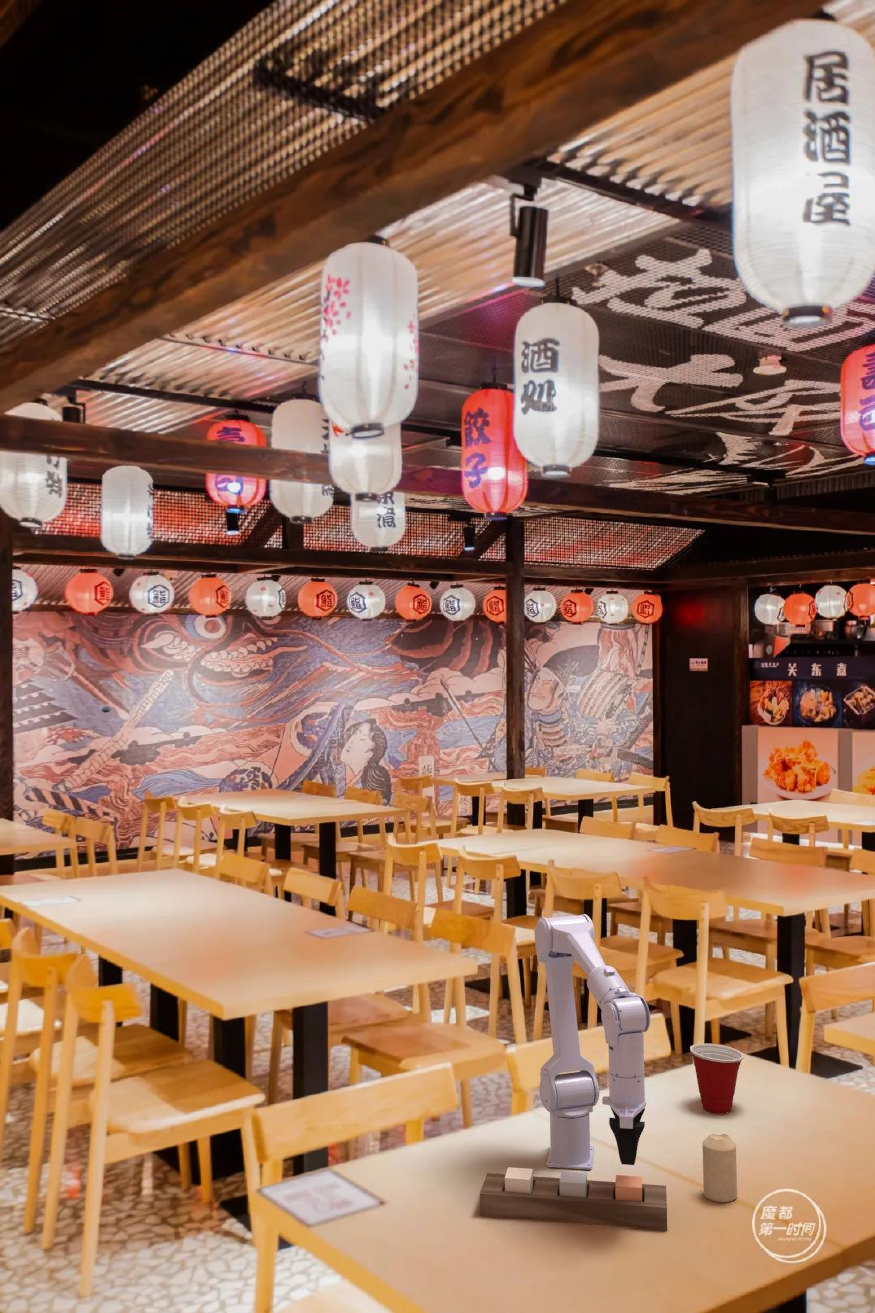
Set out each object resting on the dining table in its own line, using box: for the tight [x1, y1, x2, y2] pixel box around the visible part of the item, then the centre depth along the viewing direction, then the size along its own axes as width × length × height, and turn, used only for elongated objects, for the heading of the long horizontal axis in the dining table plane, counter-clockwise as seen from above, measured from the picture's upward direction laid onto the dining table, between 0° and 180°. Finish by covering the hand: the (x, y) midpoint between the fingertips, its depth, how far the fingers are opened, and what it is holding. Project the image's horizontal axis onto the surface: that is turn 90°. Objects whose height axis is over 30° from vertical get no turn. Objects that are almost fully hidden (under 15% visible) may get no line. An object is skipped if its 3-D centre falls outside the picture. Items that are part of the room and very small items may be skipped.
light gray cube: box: [559, 1170, 588, 1198], centre depth 179 cm, size 4×4×4 cm
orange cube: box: [615, 1174, 643, 1202], centre depth 177 cm, size 4×4×4 cm
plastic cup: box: [689, 1042, 745, 1115], centre depth 223 cm, size 11×11×12 cm
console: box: [479, 1172, 668, 1231], centre depth 179 cm, size 8×30×4 cm, turn 79°
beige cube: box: [505, 1166, 534, 1193], centre depth 180 cm, size 4×4×4 cm
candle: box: [702, 1133, 738, 1203], centre depth 184 cm, size 6×6×10 cm
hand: (628, 1157), depth 177 cm, fingers open, 5 cm apart
